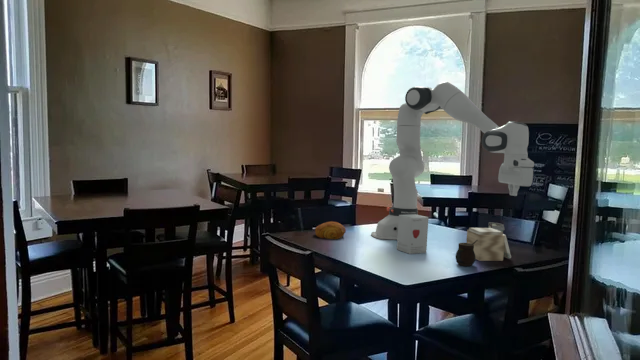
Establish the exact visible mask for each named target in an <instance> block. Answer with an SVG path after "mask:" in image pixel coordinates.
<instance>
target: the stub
mask: <svg viewBox="0 0 640 360" xmlns="http://www.w3.org/2000/svg"><path fill="white" fill-rule="evenodd" d="M503 235H504V236H505V239H504V254H503V258H506V259H511V258H512V255H511V250H510V247H509V243H508V238H507V235H506V234H504V233H503Z"/></svg>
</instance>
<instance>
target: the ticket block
mask: <svg viewBox="0 0 640 360" xmlns="http://www.w3.org/2000/svg"><path fill="white" fill-rule="evenodd" d="M503 234H504V231H503V232H502V231H499V230H496V229H494V228H489V227H468V229H466V242H465V243H470V244H473V243H474V242H475V241H476V240H477V242H476V243H474V244H473V245H474V249H473V250H474V253H475V256H476V257H475V260H478V261H481V262H484V261H485V262H486V261H488V262H489V261H491V262H493V261H494V262H495V261H496V262H498V261H501V262H503V261H504V256H503V254H504V239H505V236H504V235H505V234H504V235H503Z"/></svg>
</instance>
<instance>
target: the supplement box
mask: <svg viewBox="0 0 640 360" xmlns="http://www.w3.org/2000/svg"><path fill="white" fill-rule="evenodd" d="M428 231H429V217H428V216H424V215H421V214H418V215H417V214H408V215H399V224H398V239H397V242H396V250H398V251H400V252H403V253H406V254H408V255H414V254H426V253H427V246H428V233H429V232H428Z"/></svg>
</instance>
